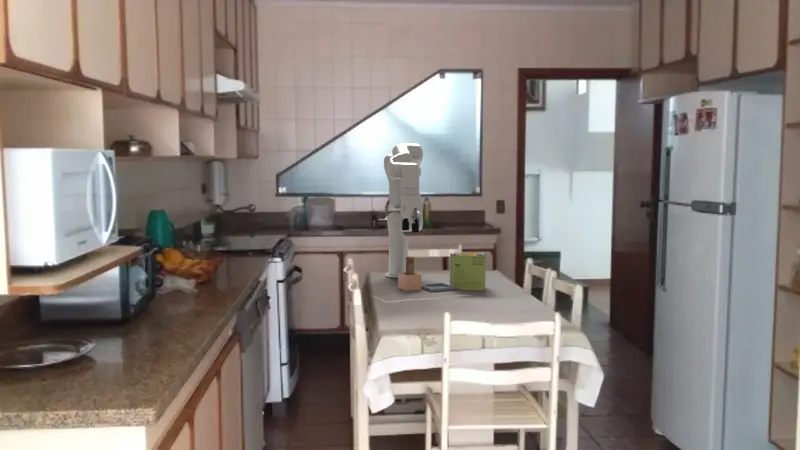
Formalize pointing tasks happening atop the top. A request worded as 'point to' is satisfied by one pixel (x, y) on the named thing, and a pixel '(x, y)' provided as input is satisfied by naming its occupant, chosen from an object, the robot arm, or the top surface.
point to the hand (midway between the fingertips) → (410, 231)
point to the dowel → (409, 265)
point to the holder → (409, 281)
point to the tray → (437, 287)
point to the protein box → (467, 271)
